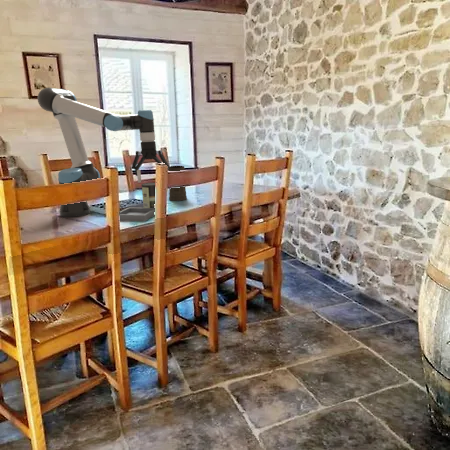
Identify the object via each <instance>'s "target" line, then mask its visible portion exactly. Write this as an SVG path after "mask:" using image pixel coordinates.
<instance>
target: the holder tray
mask: <svg viewBox="0 0 450 450" xmlns="http://www.w3.org/2000/svg"><path fill="white" fill-rule="evenodd" d="M119 212H120V220H119V221H123V222H124V221H126V222H127V221H129V222H130V221H131V222H146V221H148V220H149V219H152V218H153V217H154V216H155V215H154V212H155V208H144V207H127V208H124V209H123V210H121V211H119Z"/></svg>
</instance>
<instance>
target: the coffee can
mask: <svg viewBox="0 0 450 450" xmlns="http://www.w3.org/2000/svg"><path fill="white" fill-rule="evenodd" d="M140 186H141V192H142V193H141V194H142V204H143V205H142V206H143V208H154V204H155V182H145V183H141V185H140Z"/></svg>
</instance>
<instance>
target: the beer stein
mask: <svg viewBox="0 0 450 450" xmlns="http://www.w3.org/2000/svg"><path fill="white" fill-rule="evenodd" d="M168 170H169V171H180V170H186V168H185V166H184V165H171V166H170V165H169V168H167V171H168ZM168 195H169V197H168V199H169V201H174V202H179V201H185V200H187V199H188V196H187V190H186V186H185V187H180V188H171V189H170V188H169V193H168Z"/></svg>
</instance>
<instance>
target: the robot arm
mask: <svg viewBox="0 0 450 450" xmlns="http://www.w3.org/2000/svg"><path fill="white" fill-rule="evenodd" d="M38 92H39V93H38V94H37V103H38V105H39V106H40V107H41V109H43V110H44V111H46V112H50V113H52V115H53V118H54V119H56V120H57V121H58V124H59V127H60V130H61V133H62V136H63V139H64V142H65V145H66V148H67V151H68V154H69V158H70V161H71V163H72V164H71V166H70V168H65V169H64V168H63V169H62V170H60V171H59V172H58V173H57V174H58V175H57V176H58V178H57V181H58V184H64V183H72V182H80V181H86V180H92V179H97V178H100V179H101V174H100V171H99V170H98V169H97V168H96V167H95V166H94V164H93V162H91V160H89V158H88V154H87V152H86V148H85V145H84V142H83V138H82V135H81V133H80V129H79V126H78V122H77V119H79V120H82V121H84V122H87V123H91V124H95V125H98V126H101V127H103V128H106V129H107V130H108V131H110V132H118V131H119V132H120V131H135V130H139V138H140V140H139V141H141V142H140V149H141V150H136V151H135V157H134V159H133V162H132V165H131V169H132V170H134V171H135V177H137V183H138V184H139V183H141V182H142V173H141V169H140V168H141V166H142V165H143V163H144V162H145V161H146V160H153V161H155V163H156V164H158V163H165V164H166V165H167V166H168V168H169V167H170V165H169V163H168V161H167V159H166V158H165V156H164V154H163V150H162V149H160V150H157V145H156V141H155V140H156V135H155V122H154V120H155V119H154V114H153V113H154V112H153V111H152V110H151V109H140V110H137V114H115V113H113V112H109V111H106V110H104V109H101V108H97V107H95V106H91V105H88V104H85V103H81V102H79V101H78V100H77V97H76V95H75V94H74V93H73V92H72V91H70V90H68V89H65V88H55V87H45V88H43V89H40V91H38ZM157 155H158V156H159V157H158V156H157ZM140 156H142V157H141V158H140ZM139 158H140V160H139ZM159 158H160V159H159ZM138 161H139V162H138ZM168 168H167V169H168ZM90 213H91V207H90V206H89V203H88V202H87V200H86V202H80V203H74V204H67V205H61V204H60V207H59V216H60V217H63V218H73V217H74V218H75V217H82V216H86V215H89V214H90Z"/></svg>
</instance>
